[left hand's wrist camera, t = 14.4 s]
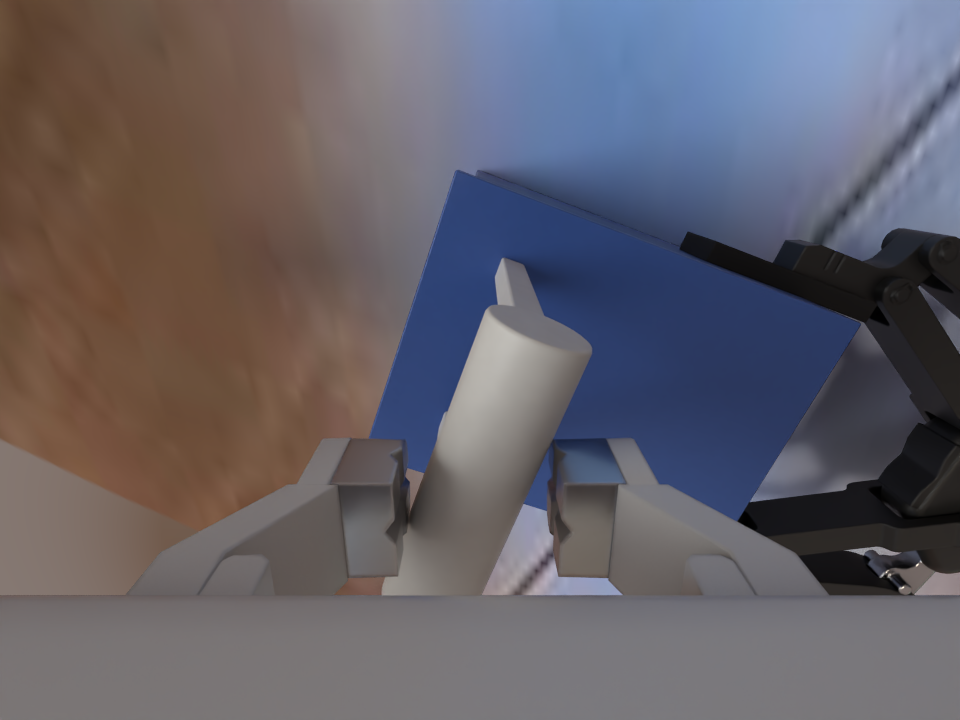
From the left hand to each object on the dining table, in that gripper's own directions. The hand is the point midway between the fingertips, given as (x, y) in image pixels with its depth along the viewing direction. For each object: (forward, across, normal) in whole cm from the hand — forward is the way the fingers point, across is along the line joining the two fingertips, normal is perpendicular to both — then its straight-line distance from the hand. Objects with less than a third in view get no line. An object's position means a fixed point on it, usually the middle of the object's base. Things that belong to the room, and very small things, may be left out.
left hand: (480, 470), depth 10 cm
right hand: (+11, +6, -2) cm, 13 cm away
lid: (+8, +4, -1) cm, 9 cm away
